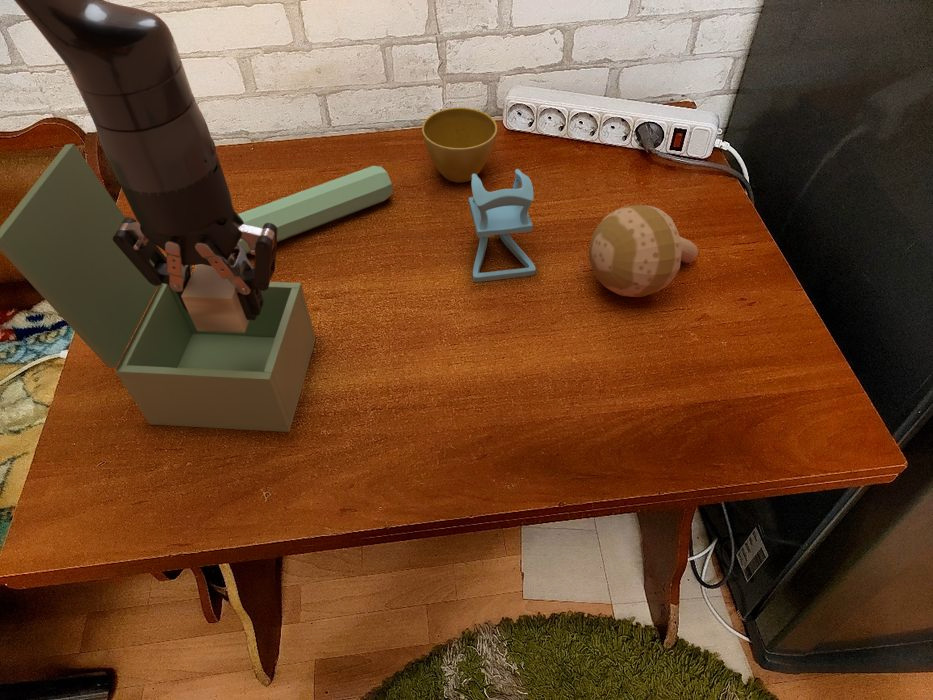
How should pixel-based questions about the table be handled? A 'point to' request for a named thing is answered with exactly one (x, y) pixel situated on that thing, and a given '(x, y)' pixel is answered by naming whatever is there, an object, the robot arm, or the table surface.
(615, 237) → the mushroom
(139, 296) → the lid
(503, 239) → the chair
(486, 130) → the flower pot
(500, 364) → the table surface
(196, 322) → the block
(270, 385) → the chest
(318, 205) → the green rod
